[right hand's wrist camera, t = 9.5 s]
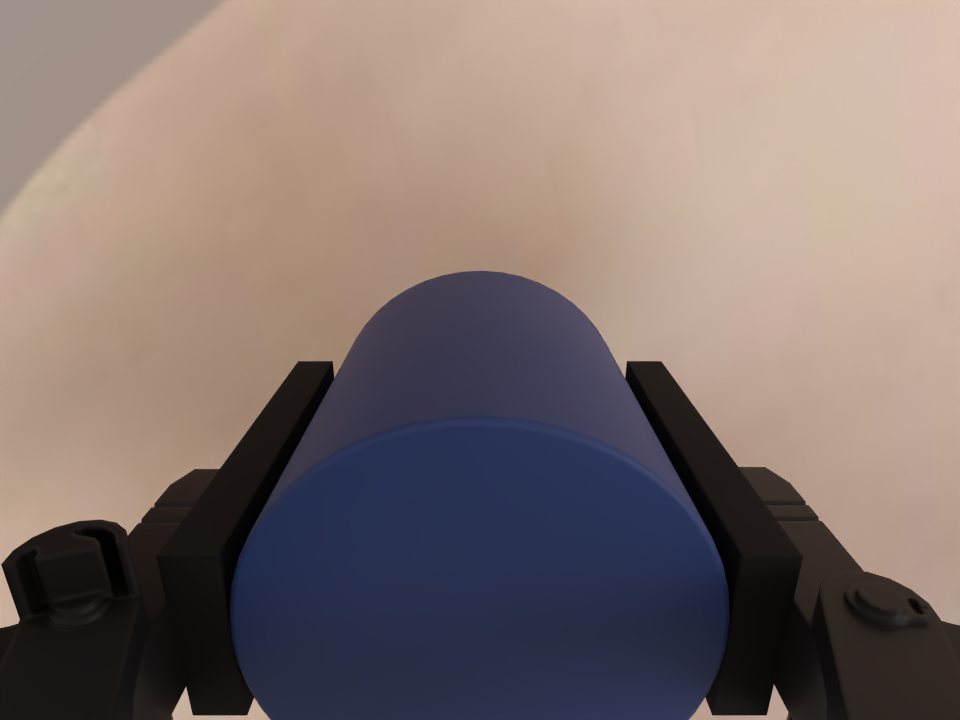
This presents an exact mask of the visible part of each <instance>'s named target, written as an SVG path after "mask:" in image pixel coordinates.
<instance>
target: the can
mask: <svg viewBox="0 0 960 720" xmlns="http://www.w3.org/2000/svg"><path fill="white" fill-rule="evenodd" d="M229 610H230V623H231V635H232V642H233V646H234V650H235V654H236V658H237V661H238V665H239V667H240V669H241V672H242V674H243V676H244V679H245V681H246V683H247V686H248V687H249V689H250V691H251V692H252V694H253V696H254V697H255V699H256V700H257V702H258V704H259V705H260V707H261V708H262V710H263V711H264V712H265V713H266V714H267V716H268V717H269V718H270V719H271V720H689V719H690V718H691V716H692V715H693V714H694V713H695V711H696V710H697V708H698V707H699V705H700V704H701V702H702V701H703V699H704V698H705V696H706V695H707V693H708V692H709V690H710V688H711V686H712V684H713V681H714V679H715V677H716V675H717V673H718V671H719V669H720V665H721V662H722V658H723V655H724V652H725V648H726V645H727V637H728V629H729V621H730V608H729V589H728V585H727V580H726V576H725V571H724V567H723V563H722V560H721V558H720V556H719V553H718V551H717V548H716V546H715V543H714V541H713V538H712V537H711V535H710V533H709V531H708V529H707V527H706V526H705V524H704V522H703V520H702V518H701V516H700V515H699V513H698V511H697V509H696V507H695V506H694V504H693V502H692V500H691V498H690V496H689V495H688V493H687V491H686V489H685V487H684V485H683V484H682V482H681V480H680V478H679V476H678V474H677V473H676V471H675V469H674V467H673V465H672V463H671V462H670V460H669V458H668V456H667V454H666V452H665V451H664V449H663V447H662V445H661V443H660V441H659V440H658V438H657V436H656V434H655V432H654V431H653V429H652V427H651V425H650V423H649V421H648V420H647V418H646V416H645V414H644V412H643V410H642V409H641V407H640V405H639V403H638V401H637V399H636V398H635V396H634V394H633V392H632V390H631V388H630V387H629V385H628V383H627V381H626V379H625V377H624V376H623V374H622V372H621V370H620V368H619V367H618V365H617V363H616V361H615V359H614V357H613V356H612V354H611V352H610V350H609V348H608V346H607V345H606V343H605V341H604V340H603V338H602V336H601V335H600V333H599V331H598V330H597V328H596V327H595V326H594V325H593V323H592V322H591V321H590V320H589V319H588V317H587V316H586V315H585V314H584V313H583V312H582V311H581V310H580V309H579V308H577V307H576V306H575V305H574V304H573V303H572V302H571V301H569V300H568V299H566V298H565V297H563V296H562V295H560V294H559V293H558V292H556V291H554V290H552V289H550V288H548V287H546V286H544V285H542V284H540V283H538V282H535V281H532V280H529V279H526V278H524V277H521V276H516V275H511V274H507V273H502V272H489V271H471V272H459V273H454V274H448V275H443V276H440V277H436V278H433V279H430V280H427V281H424V282H422V283H420V284H418V285H416V286H413V287H411V288H409V289H407V290H405V291H404V292H402V293H401V294H399V295H398V296H396V297H395V298H393V299H392V300H390V301H389V302H388V303H387V304H386V305H384V306H383V307H382V308H381V309H380V310H379V311H377V313H376V314H375V315H374V316H373V317H372V318H371V319H370V320H369V322H368V323H367V324H366V325H365V326H364V328H363V329H362V331H361V332H360V334H359V336H358V337H357V339H356V340H355V342H354V344H353V346H352V347H351V349H350V351H349V353H348V355H347V357H346V358H345V360H344V362H343V364H342V366H341V367H340V369H339V371H338V373H337V375H336V377H335V378H334V380H333V382H332V384H331V386H330V388H329V389H328V391H327V393H326V395H325V397H324V398H323V400H322V402H321V404H320V406H319V408H318V409H317V411H316V413H315V415H314V417H313V419H312V420H311V422H310V424H309V426H308V428H307V430H306V431H305V433H304V435H303V437H302V439H301V440H300V442H299V444H298V446H297V448H296V450H295V451H294V453H293V455H292V457H291V459H290V461H289V462H288V464H287V466H286V468H285V470H284V471H283V473H282V475H281V477H280V479H279V481H278V482H277V484H276V486H275V488H274V490H273V492H272V493H271V495H270V497H269V499H268V501H267V503H266V504H265V506H264V508H263V510H262V512H261V513H260V515H259V517H258V519H257V521H256V523H255V524H254V526H253V528H252V530H251V532H250V534H249V536H248V538H247V540H246V543H245V545H244V547H243V549H242V551H241V554H240V556H239V558H238V562H237V566H236V569H235V573H234V577H233V581H232V586H231V597H230V609H229Z"/></svg>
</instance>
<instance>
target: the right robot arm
mask: <svg viewBox="0 0 960 720" xmlns="http://www.w3.org/2000/svg"><path fill="white" fill-rule="evenodd" d="M625 379H626V381H627V383H628V385H629V387H630V388H631V390H632V392H633V394H634V396H635V398H636V399H637V401H638V403H639V405H640V407H641V409H642V410H643V412H644V414H645V416H646V418H647V420H648V421H649V423H650V425H651V427H652V429H653V431H654V432H655V434H656V436H657V438H658V440H659V441H660V443H661V445H662V447H663V449H664V451H665V452H666V454H667V456H668V458H669V460H670V462H671V463H672V465H673V467H674V469H675V471H676V473H677V474H678V476H679V478H680V480H681V482H682V484H683V485H684V487H685V489H686V491H687V493H688V495H689V496H690V498H691V500H692V502H693V504H694V506H695V507H696V509H697V511H698V513H699V515H700V516H701V518H702V520H703V522H704V524H705V526H706V527H707V529H708V531H709V533H710V535H711V537H712V538H713V541H714V543H715V546H716V548H717V551H718V553H719V556H720V558H721V560H722V563H723V567H724V571H725V576H726V580H727V585H728V589H729V608H730V621H729V629H728V637H727V645H726V648H725V652H724V655H723V658H722V662H721V665H720V669H719V671H718V673H717V675H716V677H715V679H714V681H713V684H712V686H711V688H710V690H709V692H708V693H707V695H706V696H705V697H706V700H707V702H708V705H709V708H710V710H711V713H712V715H767V711H768V707H769V703H770V698H771V694H772V690H773V685H775V687H776V689H777V691H778V693H779V695H780V696H781V698H782V700H783V702H784V704H785V706H786V708H787V710H788V712H789V713H788V717H787V720H960V626H959V625H955V624H951V623H947V622H944V621H941V620H940V618H939V617H938V615H937V614H936V613H935V611H934V610H933V609H932V607H931V606H930V604H929V603H928V602H926V601H925V600H924V599H922V598H921V597H920V596H919V595H917V594H916V593H915V592H913V591H912V590H911V589H909V588H907V587H905V586H903V585H901V584H899V583H897V582H895V581H893V580H891V579H889V578H886V577H882V576H879V575H875V574H872V573H869V572H864V571H863V570H862V569H861V567H860V566H859V565H858V564H857V563H856V561H855V560H854V559H853V558H852V557H851V555H850V554H849V553H848V552H847V551H846V549H845V548H844V547H843V546H842V545H841V543H840V542H839V541H838V540H837V539H836V537H835V536H834V535H833V534H832V533H831V532H830V530H829V529H828V528H827V527H826V526H825V524H824V523H823V522H822V521H819V520H818V516H817V515H816V514H815V512H814V511H813V510H812V509H811V508H810V506H809V505H806V504H805V500H804V499H803V498H802V497H801V496H800V494H799V493H798V492H797V491H796V490H795V489H794V487H793V486H792V485H791V484H790V483H789V482H787V481H786V480H784V479H783V478H781V477H780V476H778V475H777V474H775V473H773V472H772V471H770V470H769V469H767V468H766V467H738V466H737V465H736V463H735V462H734V461H733V459H732V458H731V456H730V455H729V454H728V452H727V451H726V450H725V448H724V447H723V446H722V444H721V443H720V441H719V440H718V439H717V437H716V436H715V435H714V433H713V432H712V430H711V429H710V428H709V426H708V425H707V424H706V422H705V421H704V419H703V418H702V417H701V415H700V414H699V413H698V411H697V410H696V408H695V407H694V406H693V404H692V403H691V402H690V400H689V399H688V397H687V396H686V395H685V393H684V392H683V391H682V389H681V388H680V387H679V385H678V384H677V382H676V381H675V380H674V378H673V377H672V376H671V374H670V373H669V371H668V370H667V369H666V367H665V366H664V365H663V363H662V362H661V361H627V367H626V378H625ZM333 380H334V371H333V361H298V363H297V364H296V365H295V367H294V368H293V369H292V371H291V372H290V374H289V375H288V376H287V378H286V379H285V380H284V382H283V383H282V385H281V386H280V387H279V389H278V390H277V391H276V393H275V394H274V396H273V397H272V398H271V400H270V401H269V402H268V404H267V405H266V407H265V408H264V409H263V411H262V412H261V413H260V415H259V416H258V417H257V419H256V420H255V422H254V423H253V424H252V426H251V427H250V428H249V430H248V431H247V433H246V434H245V435H244V437H243V438H242V439H241V441H240V442H239V444H238V445H237V446H236V448H235V449H234V450H233V452H232V453H231V455H230V456H229V457H228V459H227V460H226V461H225V463H224V464H223V466H222V467H221V468H220V469H194V470H193V471H191V472H190V473H188V474H187V475H185V476H184V477H182V478H180V479H179V480H177V481H176V482H174V483H173V484H171V485H170V486H169V487H168V488H167V489H166V491H165V492H164V493H163V494H162V495H161V497H160V498H159V499H158V500H157V501H156V503H155V506H154V508H151V509H150V510H149V511H148V512H147V513H146V515H145V516H144V517H143V518H142V522H141V523H138V524H137V526H136V527H135V528H134V529H133V530H132V532H131V533H130V534H129V535H128V536H127V532H126V530H125V529H124V528H123V527H121V526H120V525H119V524H117V523H115V522H110V521H104V520H89V521H78V522H74V523H70V524H67V525H63V526H59V527H55V528H53V529H51V530H49V531H46V532H44V533H42V534H39V535H37V536H35V537H33V538H31V539H30V540H28V541H27V542H25V543H24V544H22V545H21V546H19V547H18V548H16V549H15V550H13V552H12V553H11V554H10V555H9V556H8V557H7V559H6V560H5V561H4V562H3V563H2V564H1V565H2V568H3V571H4V574H5V577H6V580H7V583H8V586H9V589H10V591H11V594H12V597H13V600H14V603H15V606H16V609H17V612H18V615H19V618H20V621H19V623H18V624H16V625H12V626H9V627H4V628H0V720H173V717H172V713H173V711H174V709H175V707H176V705H177V703H178V701H179V699H180V697H181V695H182V693H183V691H184V689H185V687H187V692H188V696H189V700H190V704H191V709H192V713H193V715H247V714H248V712H249V709H250V707H251V704H252V701H253V699H254V696H253V694H252V692H251V691H250V689H249V687H248V686H247V683H246V681H245V679H244V676H243V674H242V672H241V669H240V667H239V665H238V661H237V658H236V654H235V650H234V646H233V642H232V635H231V623H230V610H229V609H230V597H231V586H232V581H233V577H234V573H235V569H236V566H237V562H238V558H239V556H240V554H241V551H242V549H243V547H244V545H245V543H246V540H247V538H248V536H249V534H250V532H251V530H252V528H253V526H254V524H255V523H256V521H257V519H258V517H259V515H260V513H261V512H262V510H263V508H264V506H265V504H266V503H267V501H268V499H269V497H270V495H271V493H272V492H273V490H274V488H275V486H276V484H277V482H278V481H279V479H280V477H281V475H282V473H283V471H284V470H285V468H286V466H287V464H288V462H289V461H290V459H291V457H292V455H293V453H294V451H295V450H296V448H297V446H298V444H299V442H300V440H301V439H302V437H303V435H304V433H305V431H306V430H307V428H308V426H309V424H310V422H311V420H312V419H313V417H314V415H315V413H316V411H317V409H318V408H319V406H320V404H321V402H322V400H323V398H324V397H325V395H326V393H327V391H328V389H329V388H330V386H331V384H332V382H333Z"/></svg>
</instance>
